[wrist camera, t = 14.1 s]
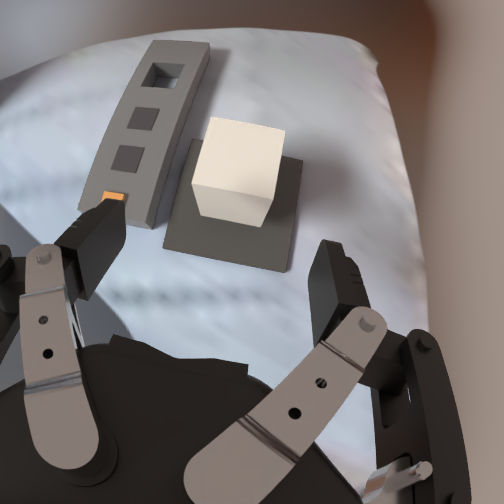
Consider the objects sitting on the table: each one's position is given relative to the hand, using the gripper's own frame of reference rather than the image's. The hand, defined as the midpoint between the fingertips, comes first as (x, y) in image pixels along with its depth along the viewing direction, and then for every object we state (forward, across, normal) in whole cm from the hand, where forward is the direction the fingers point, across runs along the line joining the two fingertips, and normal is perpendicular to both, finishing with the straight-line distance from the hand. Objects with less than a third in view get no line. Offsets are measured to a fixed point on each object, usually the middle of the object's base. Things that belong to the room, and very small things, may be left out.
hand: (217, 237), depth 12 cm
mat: (+15, 0, +6) cm, 16 cm away
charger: (+15, 0, +6) cm, 16 cm away
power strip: (+20, +11, +1) cm, 23 cm away
